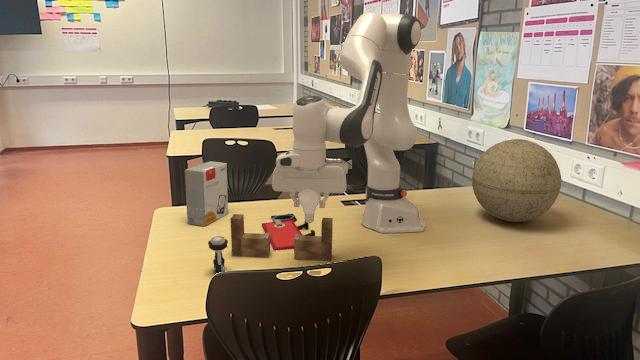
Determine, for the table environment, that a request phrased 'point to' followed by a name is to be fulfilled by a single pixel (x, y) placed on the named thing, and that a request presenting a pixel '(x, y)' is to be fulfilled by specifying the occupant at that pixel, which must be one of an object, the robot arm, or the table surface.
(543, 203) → the mottled brown seamed ball
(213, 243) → the push button
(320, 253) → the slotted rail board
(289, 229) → the red board with handle
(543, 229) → the table surface
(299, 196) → the lightbulb
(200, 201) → the hard drive box
